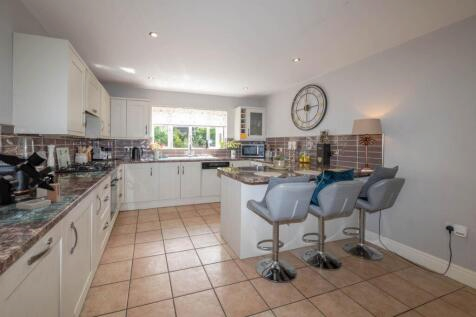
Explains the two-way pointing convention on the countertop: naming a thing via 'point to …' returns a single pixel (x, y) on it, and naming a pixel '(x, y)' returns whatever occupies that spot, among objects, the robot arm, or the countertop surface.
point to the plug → (54, 193)
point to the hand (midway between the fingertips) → (56, 189)
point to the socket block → (33, 204)
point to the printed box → (37, 192)
